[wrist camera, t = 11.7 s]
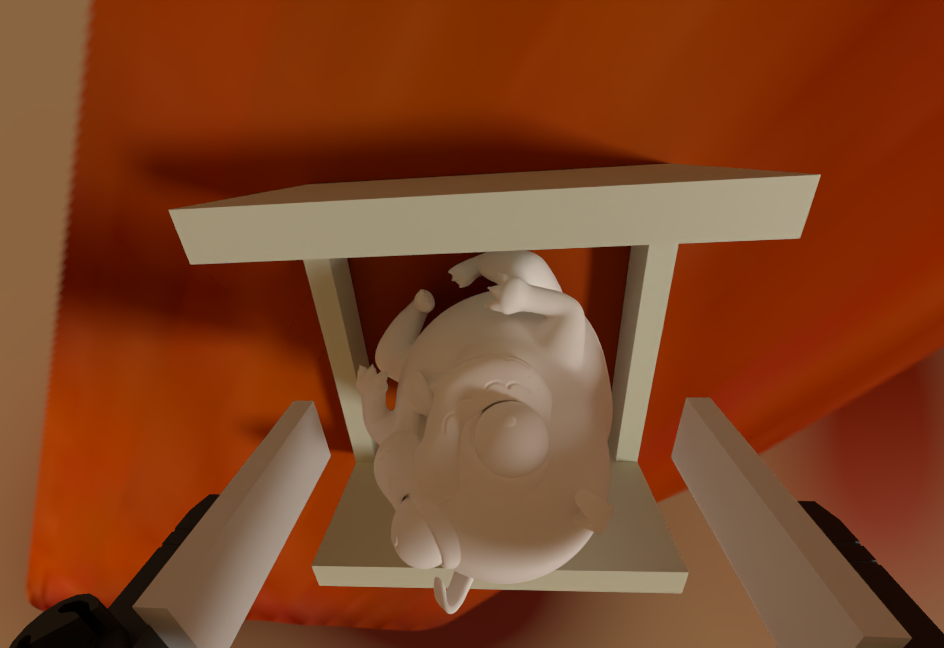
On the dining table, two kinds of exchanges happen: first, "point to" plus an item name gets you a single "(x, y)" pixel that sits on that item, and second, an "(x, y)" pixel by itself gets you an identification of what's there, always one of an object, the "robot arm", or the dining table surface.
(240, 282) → the dining table surface
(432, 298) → the figurine
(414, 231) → the beige open frame
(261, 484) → the robot arm
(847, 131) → the dining table surface
